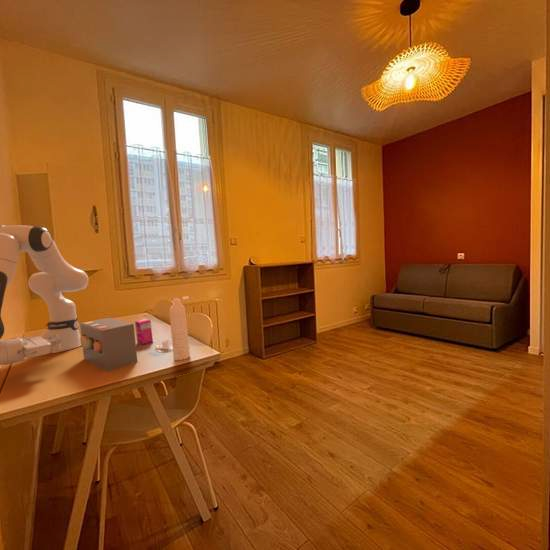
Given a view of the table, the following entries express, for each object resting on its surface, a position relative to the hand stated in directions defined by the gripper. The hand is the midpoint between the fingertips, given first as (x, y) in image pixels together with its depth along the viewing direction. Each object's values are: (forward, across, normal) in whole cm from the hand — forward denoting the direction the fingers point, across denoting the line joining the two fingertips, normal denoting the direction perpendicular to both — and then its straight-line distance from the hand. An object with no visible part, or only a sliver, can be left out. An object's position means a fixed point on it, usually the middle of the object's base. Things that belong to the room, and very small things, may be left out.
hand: (59, 340), depth 125 cm
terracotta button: (+9, -16, +4) cm, 19 cm away
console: (+15, -8, +11) cm, 20 cm away
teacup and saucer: (+39, -13, +12) cm, 42 cm away
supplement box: (+36, +4, +12) cm, 38 cm away
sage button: (+7, -8, +4) cm, 12 cm away
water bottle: (+35, -33, +11) cm, 50 cm away
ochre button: (+9, 0, +4) cm, 10 cm away
